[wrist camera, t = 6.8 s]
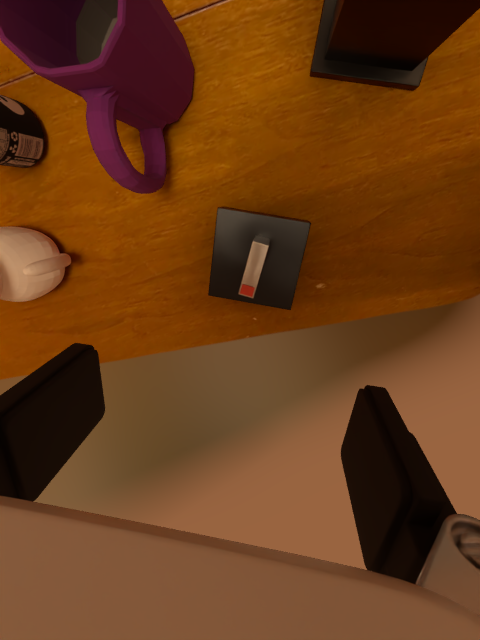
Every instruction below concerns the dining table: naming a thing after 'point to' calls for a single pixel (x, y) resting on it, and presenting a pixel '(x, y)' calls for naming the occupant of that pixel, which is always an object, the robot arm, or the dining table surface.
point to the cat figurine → (29, 264)
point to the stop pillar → (384, 38)
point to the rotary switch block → (279, 262)
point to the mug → (109, 71)
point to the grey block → (254, 266)
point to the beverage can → (19, 135)
